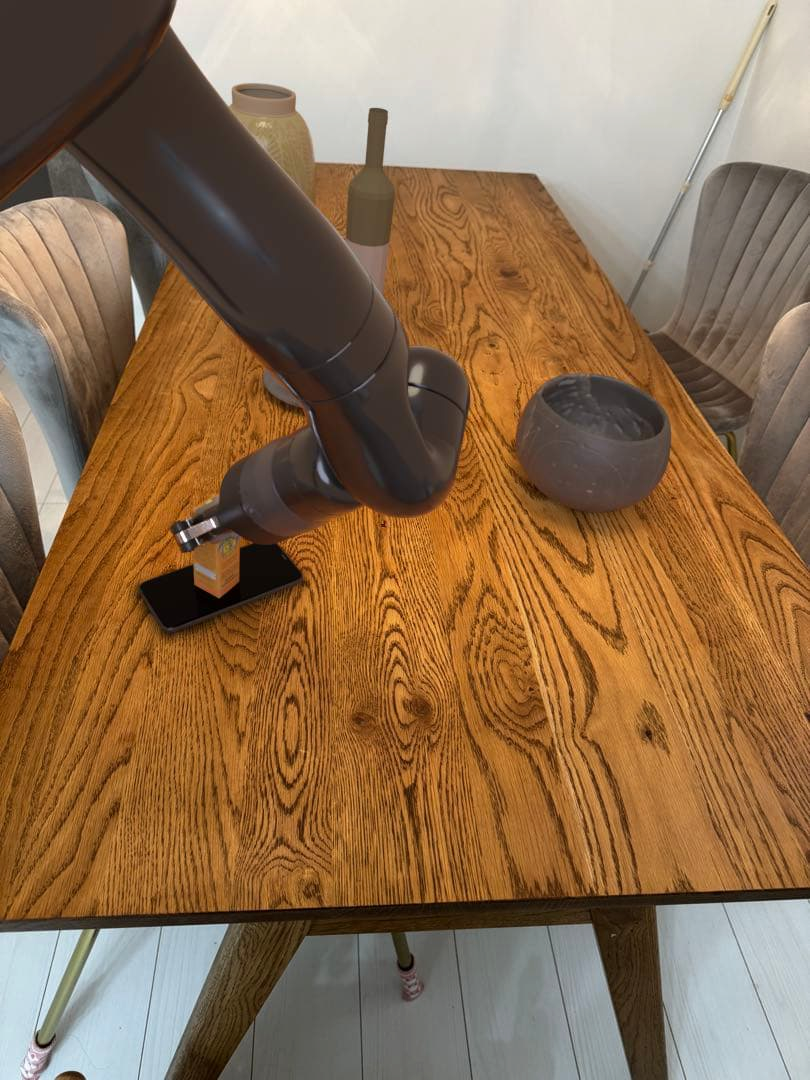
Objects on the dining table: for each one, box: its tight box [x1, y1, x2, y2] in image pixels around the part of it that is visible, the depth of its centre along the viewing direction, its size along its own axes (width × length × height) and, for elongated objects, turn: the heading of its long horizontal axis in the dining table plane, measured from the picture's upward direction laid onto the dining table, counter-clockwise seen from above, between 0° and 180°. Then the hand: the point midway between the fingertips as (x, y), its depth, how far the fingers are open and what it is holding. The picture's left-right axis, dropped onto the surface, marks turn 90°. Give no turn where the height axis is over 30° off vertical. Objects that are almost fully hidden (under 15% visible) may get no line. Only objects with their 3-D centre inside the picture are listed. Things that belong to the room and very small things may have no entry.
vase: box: [228, 82, 317, 207], centre depth 133 cm, size 17×17×27 cm
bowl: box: [514, 372, 672, 513], centre depth 97 cm, size 18×18×13 cm
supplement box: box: [190, 492, 241, 598], centre depth 77 cm, size 3×3×10 cm
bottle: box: [345, 107, 396, 295], centre depth 121 cm, size 7×7×30 cm
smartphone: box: [138, 542, 304, 634], centre depth 81 cm, size 7×1×15 cm
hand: (203, 527), depth 77 cm, fingers closed on supplement box, 4 cm apart
